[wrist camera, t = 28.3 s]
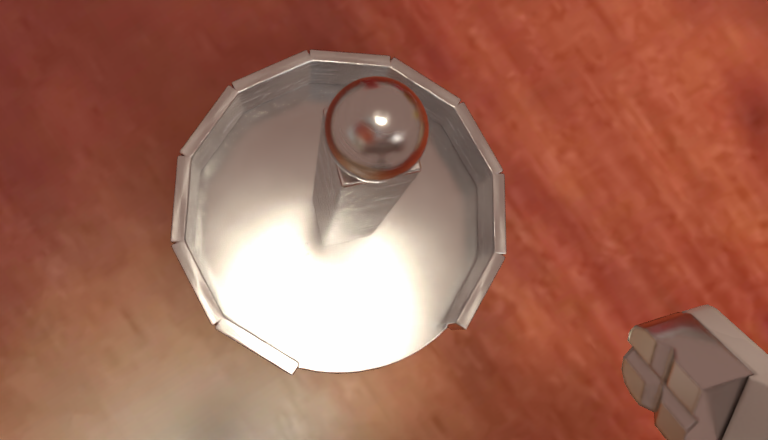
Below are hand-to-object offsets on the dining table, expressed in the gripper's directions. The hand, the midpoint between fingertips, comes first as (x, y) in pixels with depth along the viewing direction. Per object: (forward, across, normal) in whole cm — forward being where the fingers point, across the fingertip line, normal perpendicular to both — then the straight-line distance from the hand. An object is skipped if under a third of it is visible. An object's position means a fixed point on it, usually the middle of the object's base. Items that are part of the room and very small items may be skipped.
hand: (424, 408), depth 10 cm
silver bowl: (+13, -1, +5) cm, 14 cm away
